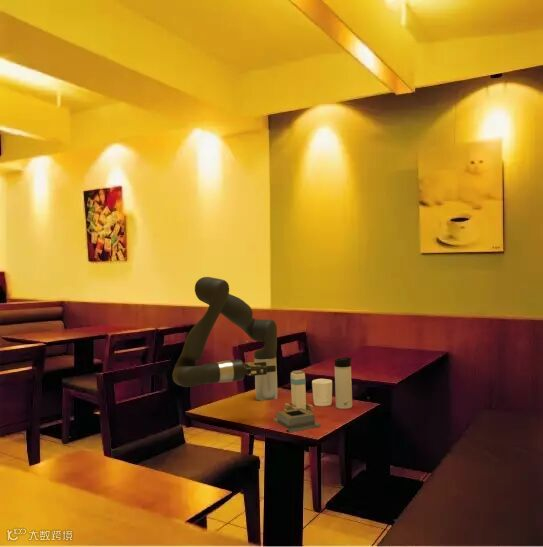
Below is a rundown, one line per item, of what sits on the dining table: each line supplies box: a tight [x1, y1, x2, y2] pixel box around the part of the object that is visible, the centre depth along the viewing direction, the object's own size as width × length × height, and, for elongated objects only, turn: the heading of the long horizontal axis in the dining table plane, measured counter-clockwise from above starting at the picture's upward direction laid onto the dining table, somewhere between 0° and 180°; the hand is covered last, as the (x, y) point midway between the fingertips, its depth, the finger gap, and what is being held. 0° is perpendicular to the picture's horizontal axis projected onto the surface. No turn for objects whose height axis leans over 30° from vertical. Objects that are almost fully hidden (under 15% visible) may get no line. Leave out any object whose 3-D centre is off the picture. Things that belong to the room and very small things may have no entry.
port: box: [271, 408, 321, 433], centre depth 195 cm, size 14×12×4 cm
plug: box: [290, 369, 307, 410], centre depth 210 cm, size 4×4×15 cm
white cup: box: [311, 378, 333, 407], centre depth 218 cm, size 8×8×10 cm
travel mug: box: [334, 356, 353, 410], centre depth 212 cm, size 6×7×20 cm
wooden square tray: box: [283, 402, 315, 413], centre depth 210 cm, size 9×9×3 cm
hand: (270, 366), depth 205 cm, fingers open, 8 cm apart
